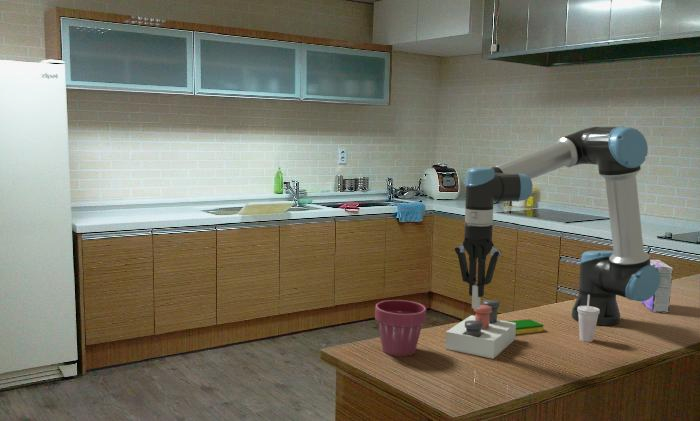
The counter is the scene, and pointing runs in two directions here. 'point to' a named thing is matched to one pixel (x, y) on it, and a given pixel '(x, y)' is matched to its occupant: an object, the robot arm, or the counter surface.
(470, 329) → the knob
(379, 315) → the plant pot
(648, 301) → the candy box
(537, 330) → the dish sponge
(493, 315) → the knob
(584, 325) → the smoothie
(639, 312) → the counter surface
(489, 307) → the pink round knob
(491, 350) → the mount
